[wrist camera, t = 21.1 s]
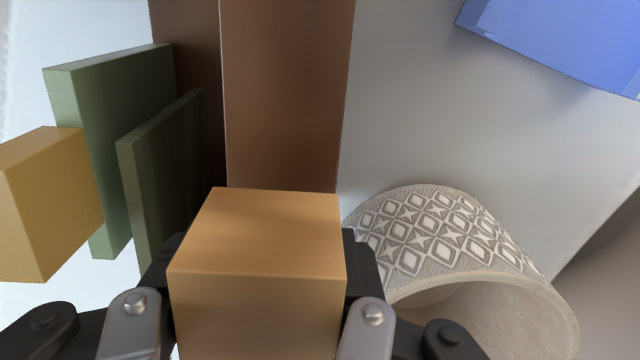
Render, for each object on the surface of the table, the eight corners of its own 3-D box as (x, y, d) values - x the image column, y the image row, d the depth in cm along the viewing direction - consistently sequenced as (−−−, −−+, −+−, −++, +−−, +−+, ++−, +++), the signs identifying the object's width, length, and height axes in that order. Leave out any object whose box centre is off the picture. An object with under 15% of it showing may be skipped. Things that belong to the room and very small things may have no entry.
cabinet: (176, 189, 32) (86, 308, 19) (145, -63, 23) (-50, -141, 11) (319, 197, 32) (322, 318, 20) (339, -46, 24) (366, -102, 11)
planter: (351, 324, 40) (366, 451, 28) (306, 204, 33) (302, 310, 21) (499, 290, 38) (578, 413, 26) (485, 155, 31) (585, 243, 19)
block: (219, 281, 15) (182, 387, 11) (212, 185, 13) (164, 270, 9) (327, 286, 15) (332, 392, 11) (337, 193, 13) (348, 279, 9)
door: (163, 168, 29) (17, 326, 15) (146, 41, 25) (-85, 90, 11) (185, 170, 30) (61, 328, 15) (172, 43, 25) (-23, 95, 11)
